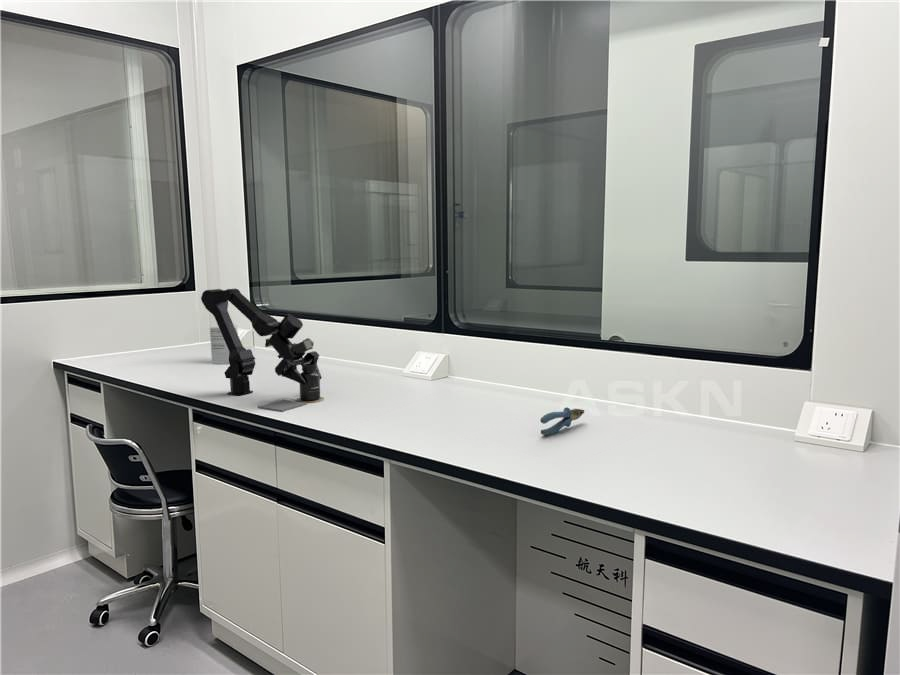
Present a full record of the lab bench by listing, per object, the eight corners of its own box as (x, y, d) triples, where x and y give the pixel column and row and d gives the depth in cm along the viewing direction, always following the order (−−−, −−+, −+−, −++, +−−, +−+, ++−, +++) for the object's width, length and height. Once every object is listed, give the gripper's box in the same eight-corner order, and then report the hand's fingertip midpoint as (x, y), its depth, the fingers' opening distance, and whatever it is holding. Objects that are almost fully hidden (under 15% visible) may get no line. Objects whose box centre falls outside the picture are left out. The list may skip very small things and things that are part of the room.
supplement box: (221, 360, 312) (219, 324, 310) (240, 360, 311) (238, 324, 308) (211, 364, 302) (209, 327, 300) (230, 364, 301) (228, 327, 299)
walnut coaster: (291, 401, 227) (291, 400, 227) (309, 395, 234) (309, 395, 234) (311, 404, 222) (311, 403, 222) (329, 398, 230) (329, 398, 230)
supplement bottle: (315, 401, 224) (314, 366, 222) (296, 401, 225) (295, 366, 224) (323, 397, 231) (322, 363, 229) (305, 396, 232) (303, 362, 230)
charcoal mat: (258, 407, 218) (257, 406, 218) (282, 400, 227) (282, 399, 227) (282, 411, 212) (282, 410, 212) (306, 404, 222) (306, 403, 222)
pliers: (579, 421, 195) (580, 401, 194) (586, 422, 194) (586, 402, 193) (538, 436, 181) (538, 415, 180) (544, 437, 179) (544, 416, 179)
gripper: (280, 335, 218) (310, 370, 215) (313, 328, 235) (341, 361, 232) (262, 357, 222) (291, 392, 219) (296, 349, 239) (323, 381, 236)
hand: (313, 381), depth 227 cm, fingers open, 9 cm apart
